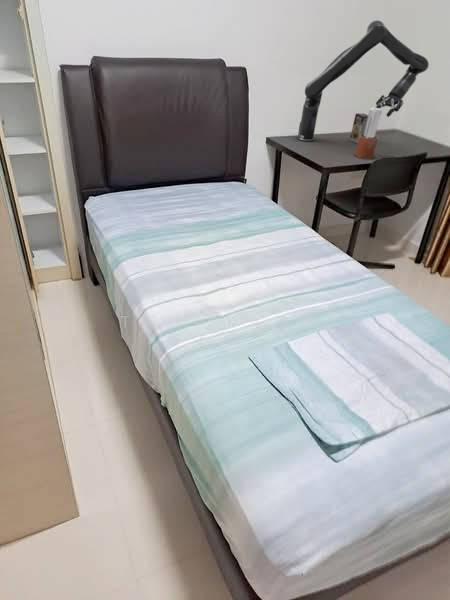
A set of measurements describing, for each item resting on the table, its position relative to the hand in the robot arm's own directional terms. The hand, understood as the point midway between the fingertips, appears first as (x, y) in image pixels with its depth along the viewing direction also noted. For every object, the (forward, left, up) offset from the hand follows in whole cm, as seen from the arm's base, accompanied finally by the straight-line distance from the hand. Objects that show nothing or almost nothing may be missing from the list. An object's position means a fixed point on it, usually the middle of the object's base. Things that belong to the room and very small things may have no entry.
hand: (381, 113), depth 240 cm
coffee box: (-25, +11, -23) cm, 36 cm away
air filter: (+1, -6, -22) cm, 23 cm away
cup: (+1, -6, -23) cm, 23 cm away
